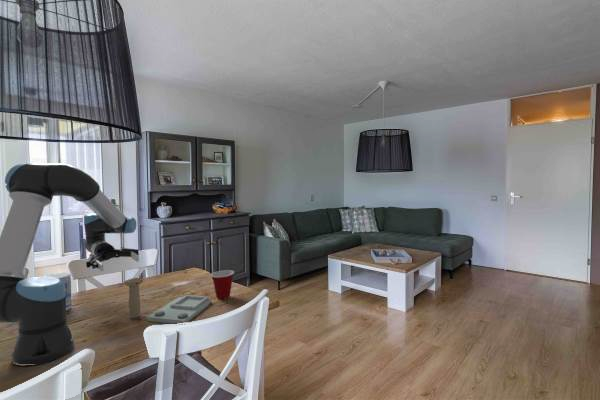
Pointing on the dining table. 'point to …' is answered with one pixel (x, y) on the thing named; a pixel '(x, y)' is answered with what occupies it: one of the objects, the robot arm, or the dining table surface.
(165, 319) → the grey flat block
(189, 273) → the dining table surface
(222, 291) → the plastic cup
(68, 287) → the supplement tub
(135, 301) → the handle
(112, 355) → the dining table surface
